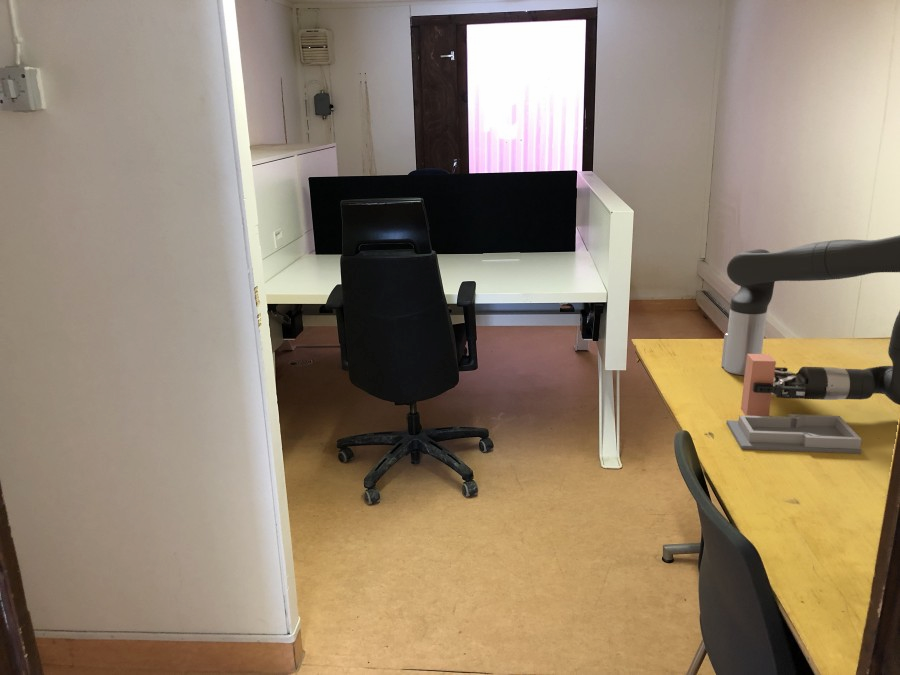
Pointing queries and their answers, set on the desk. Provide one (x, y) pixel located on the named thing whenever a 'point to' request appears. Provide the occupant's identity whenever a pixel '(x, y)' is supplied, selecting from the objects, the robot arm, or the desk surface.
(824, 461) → the desk surface
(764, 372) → the block
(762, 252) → the robot arm
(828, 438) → the keyhole board
